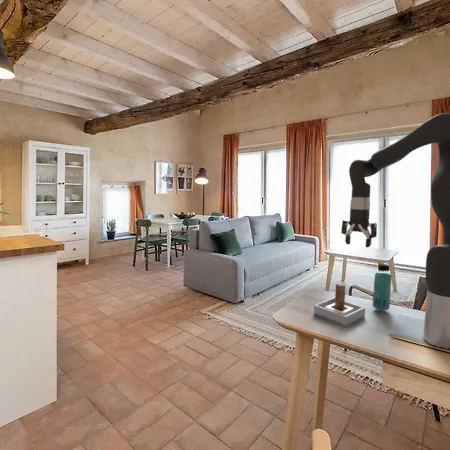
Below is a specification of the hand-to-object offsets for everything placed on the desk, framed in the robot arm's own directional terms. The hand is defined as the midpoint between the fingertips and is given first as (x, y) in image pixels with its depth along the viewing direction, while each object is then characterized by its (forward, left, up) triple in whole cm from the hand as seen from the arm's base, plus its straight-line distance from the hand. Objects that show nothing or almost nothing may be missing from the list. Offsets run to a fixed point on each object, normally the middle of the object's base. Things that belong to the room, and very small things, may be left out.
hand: (357, 245), depth 127 cm
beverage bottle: (-10, -3, -27) cm, 29 cm away
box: (-2, +15, -27) cm, 31 cm away
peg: (-2, +15, -26) cm, 30 cm away
